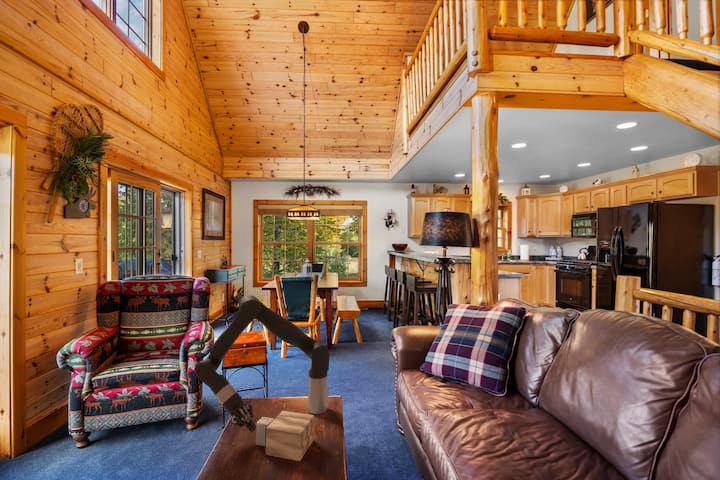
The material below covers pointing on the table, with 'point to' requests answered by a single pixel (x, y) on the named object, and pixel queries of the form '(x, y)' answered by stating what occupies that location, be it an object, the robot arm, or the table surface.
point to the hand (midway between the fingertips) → (254, 430)
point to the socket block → (289, 435)
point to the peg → (262, 430)
